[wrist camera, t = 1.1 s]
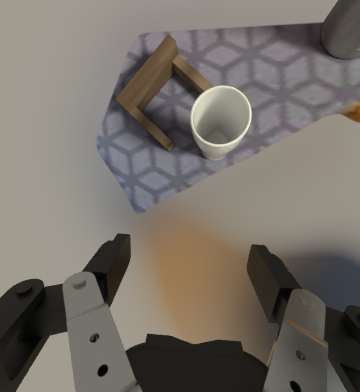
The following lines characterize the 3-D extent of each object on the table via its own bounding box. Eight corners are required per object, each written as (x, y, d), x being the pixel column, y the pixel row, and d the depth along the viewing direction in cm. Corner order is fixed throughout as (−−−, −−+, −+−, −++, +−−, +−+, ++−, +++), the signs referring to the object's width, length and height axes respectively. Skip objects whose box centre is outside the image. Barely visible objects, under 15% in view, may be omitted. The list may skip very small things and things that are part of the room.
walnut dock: (216, 98, 34) (218, 79, 28) (168, 151, 36) (161, 143, 30) (174, 60, 35) (168, 34, 29) (129, 113, 37) (115, 99, 31)
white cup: (194, 132, 35) (184, 92, 20) (230, 125, 34) (247, 76, 19) (200, 167, 35) (194, 153, 21) (236, 161, 34) (257, 140, 20)
